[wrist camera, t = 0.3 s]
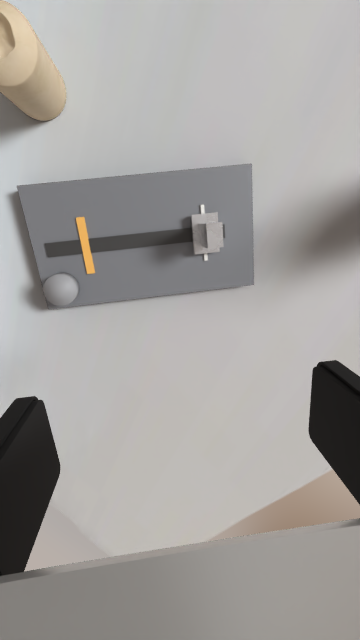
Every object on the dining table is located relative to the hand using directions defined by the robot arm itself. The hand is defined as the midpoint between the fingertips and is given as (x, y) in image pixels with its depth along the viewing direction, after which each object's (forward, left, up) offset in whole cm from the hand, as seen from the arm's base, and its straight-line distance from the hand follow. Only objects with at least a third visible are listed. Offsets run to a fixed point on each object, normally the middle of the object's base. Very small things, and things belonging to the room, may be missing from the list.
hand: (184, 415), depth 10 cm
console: (-5, -1, -30) cm, 30 cm away
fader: (-5, +6, -27) cm, 28 cm away
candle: (-21, -10, -30) cm, 37 cm away
